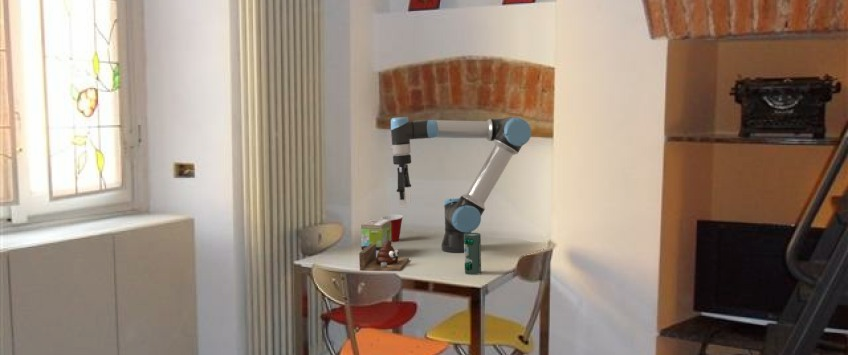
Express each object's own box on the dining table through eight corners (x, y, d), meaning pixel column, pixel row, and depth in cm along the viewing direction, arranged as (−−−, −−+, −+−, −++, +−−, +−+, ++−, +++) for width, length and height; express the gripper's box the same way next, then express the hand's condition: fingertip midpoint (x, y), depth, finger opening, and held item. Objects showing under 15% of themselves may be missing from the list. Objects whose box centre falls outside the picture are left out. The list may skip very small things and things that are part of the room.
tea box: (383, 259, 316) (382, 224, 314) (361, 258, 318) (359, 224, 316) (392, 251, 330) (391, 218, 329) (370, 251, 332) (369, 218, 331)
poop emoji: (385, 259, 309) (384, 237, 308) (402, 261, 305) (402, 238, 304) (371, 264, 301) (371, 241, 300) (389, 266, 297) (389, 243, 296)
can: (464, 271, 289) (463, 233, 288) (479, 270, 289) (479, 232, 288) (466, 274, 283) (465, 235, 282) (481, 274, 283) (481, 235, 282)
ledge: (408, 260, 312) (408, 243, 311) (399, 271, 292) (399, 253, 291) (371, 259, 314) (371, 243, 314) (359, 270, 295) (359, 253, 294)
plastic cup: (376, 241, 355) (375, 216, 354) (391, 238, 364) (390, 213, 363) (394, 243, 349) (393, 218, 348) (408, 240, 357) (407, 215, 356)
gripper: (397, 152, 323) (400, 200, 326) (388, 157, 299) (391, 209, 301) (414, 151, 323) (417, 200, 325) (406, 156, 298) (410, 208, 300)
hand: (405, 204), depth 313 cm, fingers open, 13 cm apart
